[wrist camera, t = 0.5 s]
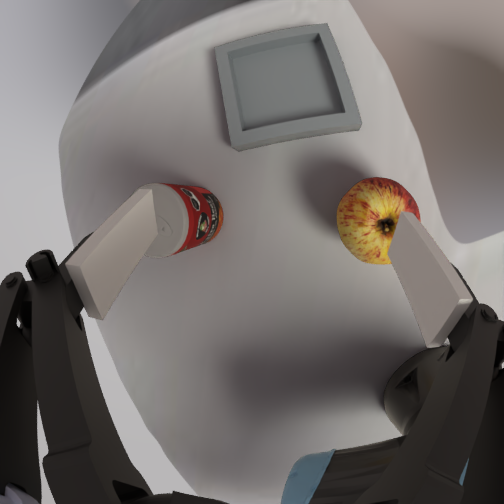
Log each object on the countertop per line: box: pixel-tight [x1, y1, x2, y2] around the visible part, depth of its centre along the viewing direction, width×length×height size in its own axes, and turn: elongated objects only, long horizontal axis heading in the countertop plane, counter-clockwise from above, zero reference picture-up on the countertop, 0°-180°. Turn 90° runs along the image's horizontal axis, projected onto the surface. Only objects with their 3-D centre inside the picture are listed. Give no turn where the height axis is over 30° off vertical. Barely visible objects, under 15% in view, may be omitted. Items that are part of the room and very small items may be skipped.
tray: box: [214, 23, 362, 151], centre depth 29 cm, size 16×16×3 cm
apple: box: [337, 177, 420, 264], centre depth 26 cm, size 9×9×10 cm
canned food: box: [130, 183, 223, 258], centre depth 31 cm, size 8×8×11 cm
